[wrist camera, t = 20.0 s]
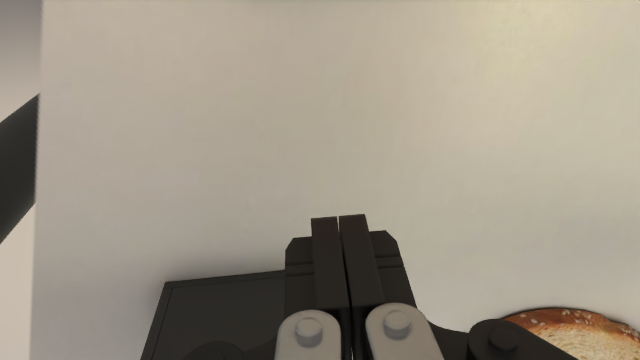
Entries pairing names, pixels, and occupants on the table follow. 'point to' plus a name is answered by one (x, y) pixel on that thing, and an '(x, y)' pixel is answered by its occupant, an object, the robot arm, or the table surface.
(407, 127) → the table surface
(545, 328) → the bread slice
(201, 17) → the table surface
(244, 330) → the dark grey paneled cube
